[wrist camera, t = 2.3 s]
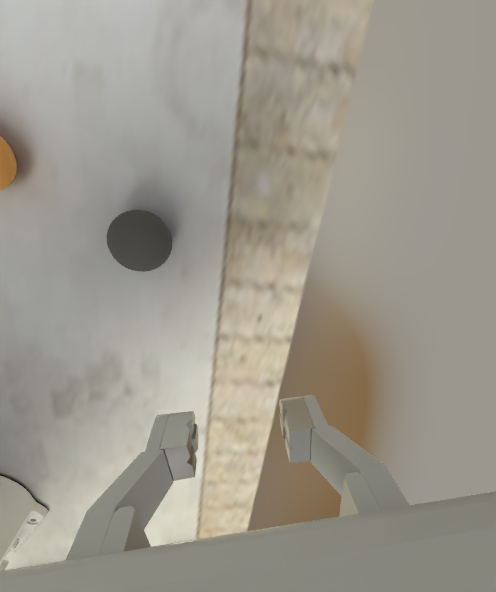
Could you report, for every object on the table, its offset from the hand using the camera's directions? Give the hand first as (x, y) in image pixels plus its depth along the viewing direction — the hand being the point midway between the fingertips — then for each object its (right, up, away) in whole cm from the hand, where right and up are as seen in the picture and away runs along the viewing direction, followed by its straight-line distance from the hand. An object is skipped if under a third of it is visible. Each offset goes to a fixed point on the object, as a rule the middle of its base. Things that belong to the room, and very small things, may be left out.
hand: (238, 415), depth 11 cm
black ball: (-10, +10, +12) cm, 19 cm away
